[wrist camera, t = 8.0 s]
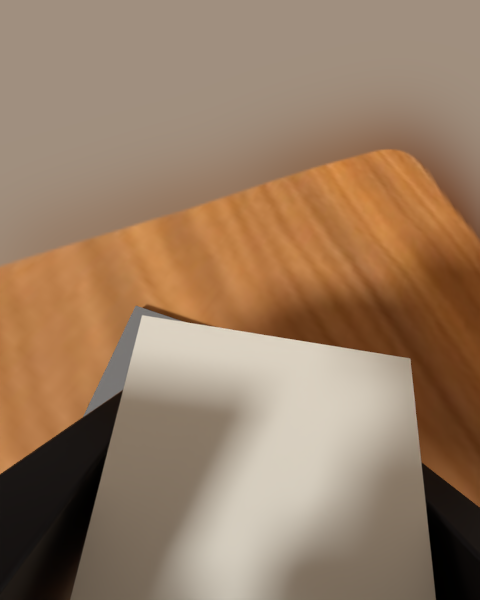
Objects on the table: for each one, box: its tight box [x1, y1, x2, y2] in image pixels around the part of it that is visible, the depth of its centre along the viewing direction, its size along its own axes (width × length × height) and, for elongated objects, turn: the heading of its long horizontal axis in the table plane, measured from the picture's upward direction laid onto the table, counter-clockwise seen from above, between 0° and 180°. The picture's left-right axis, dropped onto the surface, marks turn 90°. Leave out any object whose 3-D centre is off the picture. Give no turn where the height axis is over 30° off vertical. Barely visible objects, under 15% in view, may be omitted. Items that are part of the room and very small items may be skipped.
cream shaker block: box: [70, 315, 436, 600], centre depth 9 cm, size 5×5×10 cm
